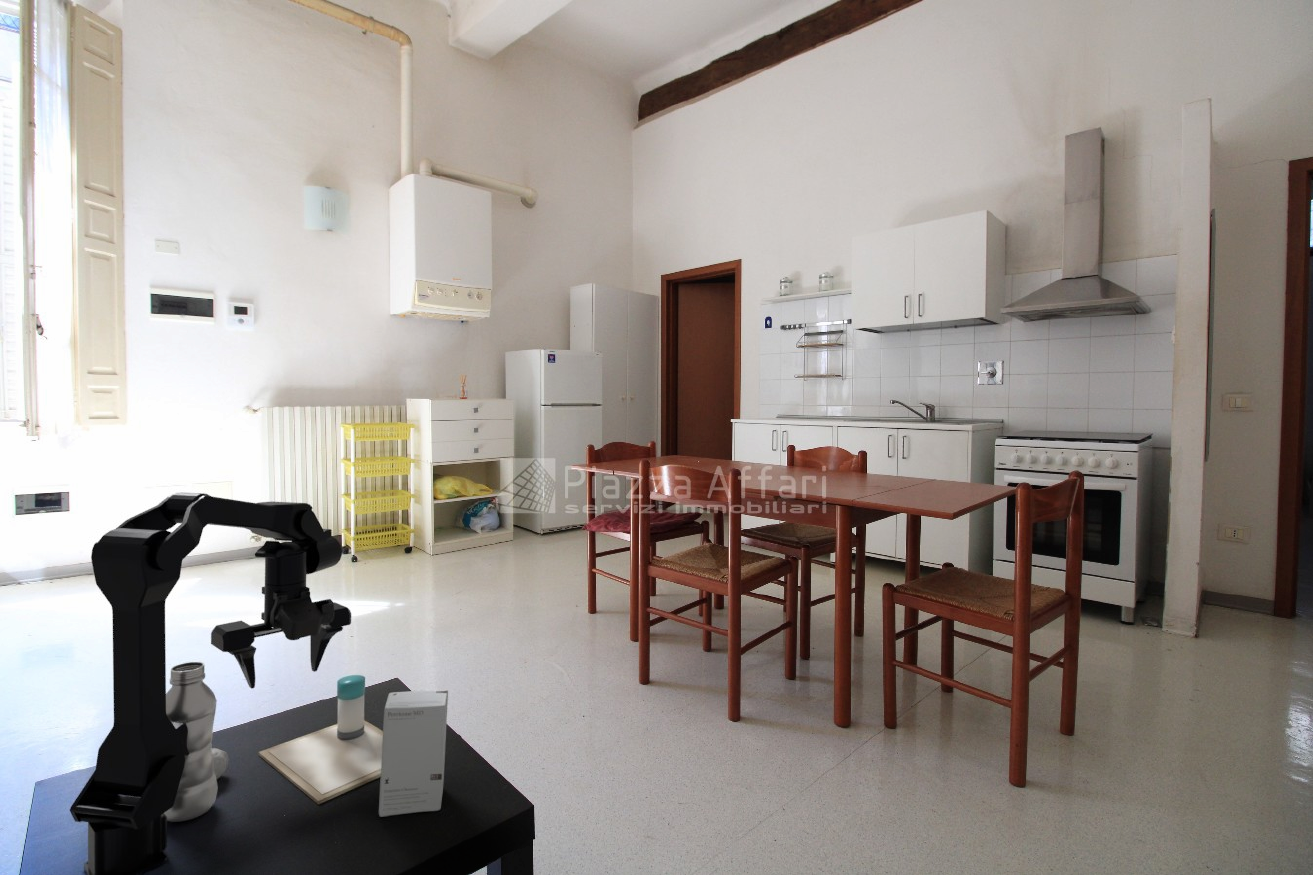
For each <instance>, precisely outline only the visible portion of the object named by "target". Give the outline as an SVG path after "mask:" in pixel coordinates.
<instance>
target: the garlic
mask: <svg viewBox="0 0 1313 875" xmlns="http://www.w3.org/2000/svg"><path fill="white" fill-rule="evenodd" d="M228 755H229V754H228V753H227V752H226V751H224V750H222V749H220V748H216V747H214V748H213V747H212V757H213V766H214V772H215V776H216V780H217V781H218V779H219V778H220V777H221V776H223V775H224V773H225V771H226V769H227V767H228V765H229V756H228Z"/></svg>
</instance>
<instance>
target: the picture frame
mask: <svg viewBox="0 0 1313 875" xmlns="http://www.w3.org/2000/svg"><path fill="white" fill-rule="evenodd" d="M337 728H338V723H336V724H333V725H331V726H327V727H325V728H322V729H319V730H317V731H314V732H310V733H308V734H305V735H302V736H299V737H297V738H294V739H292V740H288V741H286V742H282V743H280V744H277V745H275V746H271V747H269V748H267V749H264V750H261V751H258V756H259V757H260V758H261V759H263V760H264V761H265V762H266V763H267V764H268V765H270V766H271V767H272V768H274V770H276V771H277V772H278V773H279V774H281V775H282V776H283V777H284V778H285V779H287V781H289V782H291V784H293V785H294V786H295V787H296V788H298V789H299V790H300V791H301V792H303V793H304V794H305V795H306V796H307V797H309V799H311V800H312V801H313V802H315V803H316V804H317V805H321V804H323V803H325V802H327V801H329V800H332V799H334V798H336V797H338V796H340V795H342V794H345V793H347V792H350V791H351V790H354V789H356V788H358V787H360V786H363V785H366V784H367V783H369V782H371V781H374V780H376V779H379V778H381V761H382V742H383V729H382V730H381V729H380V728H379V727H377V726H375V725H373V724H372V723H370V722H368V721H367V720H365V719H364V734H363V735H362V736H360V737H358V738H355V739H351V740H341V739H338V738H337Z"/></svg>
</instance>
